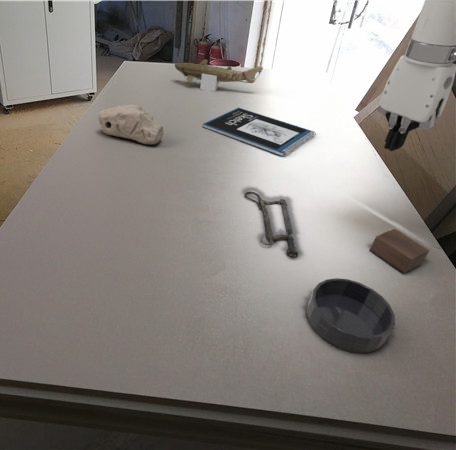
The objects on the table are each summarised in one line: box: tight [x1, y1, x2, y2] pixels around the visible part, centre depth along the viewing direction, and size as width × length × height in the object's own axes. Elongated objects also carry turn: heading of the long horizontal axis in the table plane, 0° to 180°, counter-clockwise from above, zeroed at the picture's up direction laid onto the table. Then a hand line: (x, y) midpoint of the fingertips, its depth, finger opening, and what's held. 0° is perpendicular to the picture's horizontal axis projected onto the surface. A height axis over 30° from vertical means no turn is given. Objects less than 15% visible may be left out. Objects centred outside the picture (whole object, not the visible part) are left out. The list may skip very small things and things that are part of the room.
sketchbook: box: [202, 107, 317, 158], centre depth 132 cm, size 22×30×2 cm
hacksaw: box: [244, 191, 299, 258], centre depth 92 cm, size 24×10×2 cm, turn 172°
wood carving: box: [174, 59, 264, 92], centre depth 161 cm, size 9×35×11 cm, turn 70°
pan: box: [306, 277, 396, 354], centre depth 69 cm, size 13×13×4 cm
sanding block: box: [369, 228, 431, 275], centre depth 83 cm, size 6×8×4 cm
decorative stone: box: [98, 104, 165, 146], centre depth 122 cm, size 20×8×10 cm, turn 67°
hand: (391, 148), depth 82 cm, fingers closed
